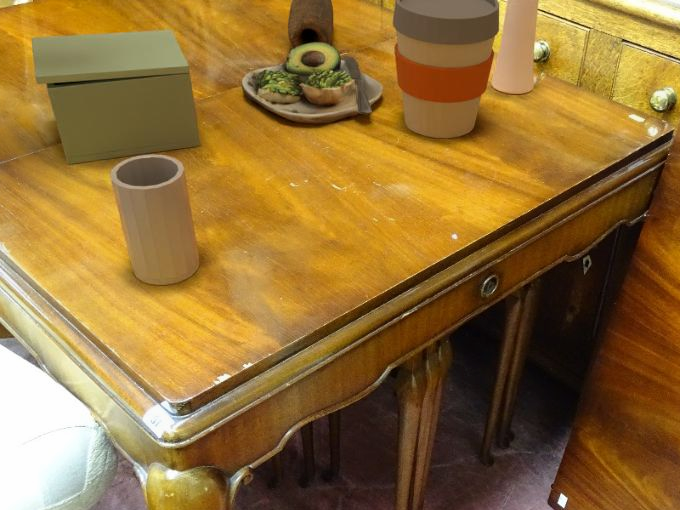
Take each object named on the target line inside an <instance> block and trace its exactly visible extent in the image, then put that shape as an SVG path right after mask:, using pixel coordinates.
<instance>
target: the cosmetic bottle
mask: <svg viewBox="0 0 680 510" xmlns="http://www.w3.org/2000/svg"><path fill="white" fill-rule="evenodd" d="M538 12H539V0H506V7H505V14H504V20H503V26H502V33H501V38H500V43H499V48H498V53H497V58H496V62H495V65H494V69H493V74H492V77H491V81H490V85H491V87H492V88H493V89H494V90H497V91H498V92H501V93H504V94H509V95H522V94H527V93H529V92H531V91H533V90H534V87H535V79H534V63H535V61H534V60H535V45H536V43H535V41H536V31H537V20H538Z"/></svg>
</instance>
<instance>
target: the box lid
mask: <svg viewBox="0 0 680 510" xmlns="http://www.w3.org/2000/svg"><path fill="white" fill-rule="evenodd" d="M30 40H31V49H32V58H33V67H34V78H35V82H36V85H44V84H45V85H47V83H60V82H73V81H86V80H100V79H113V78H126V77H139V76H153V75H166V74H179V73H190V74H191V71H190V65H189V63H188V61H187V59H186V57H185V55H184V53H183V51H182V48H181V47H180V45H179V42H178V40H177V38H176V36H175V34H174V31H173V30H172V29H161V30H144V31H143V30H142V31H126V32H123V31H122V32H108V33H107V32H106V33H105V32H104V33H89V34H75V35H74V34H73V35H72V34H71V35H53V36H37V37H36V36H35V37H31V38H30Z"/></svg>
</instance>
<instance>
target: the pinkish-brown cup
mask: <svg viewBox="0 0 680 510" xmlns="http://www.w3.org/2000/svg"><path fill="white" fill-rule="evenodd" d="M109 177H110V182H111V185H112V190H113V194H114V198H115V202H116V203H115V204H116V207H117V211H118V216H119V219H120V223H121V227H122V232H123V235H124V239H125V240H124V241H125V244H126V249H127V253H128V256H129V261H130V266H131V269H132V272H133V275H134V276H135V278H137V280H139V281H140V282H143V283H145V284H148V285H153V286H167V285H175V284H177V283H180V282H184V280H187V279H189V278H191V277H192V276H193V275H194V274H195V273H196V272H197V271H198V269H199V267H200V265H201V264H200V263H201V261H200V253H199V249H198V244H197V243H198V242H197V237H196V236H197V235H196V230H195V223H194V219H193V213H192V207H191V206H192V205H191V201H190V194H189V189H188V183H187V177H186V171H185V167H184V164H183V162H181V161H180V160H179V159H178V158H175V157H173V156H170V155H165V154H155V153H149V154H140V155H135V156H133V157H130V158H127V159H124V160H122V161H120V162H119V163H117V164H115V165H114V167H113V168H112V169H111V171H110V172H109Z"/></svg>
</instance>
